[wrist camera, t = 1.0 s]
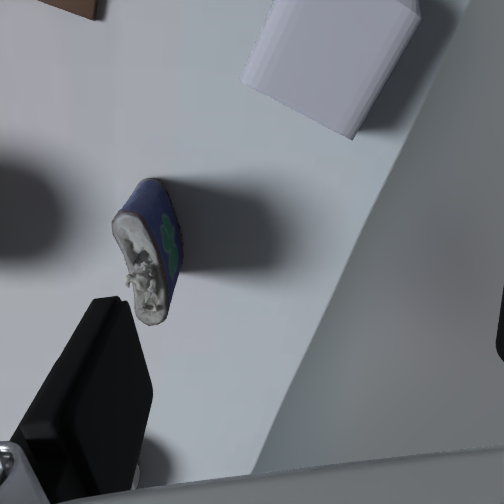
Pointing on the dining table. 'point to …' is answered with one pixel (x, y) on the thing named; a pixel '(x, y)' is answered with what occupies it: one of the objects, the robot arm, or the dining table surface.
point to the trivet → (76, 7)
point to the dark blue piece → (150, 249)
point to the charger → (330, 56)
